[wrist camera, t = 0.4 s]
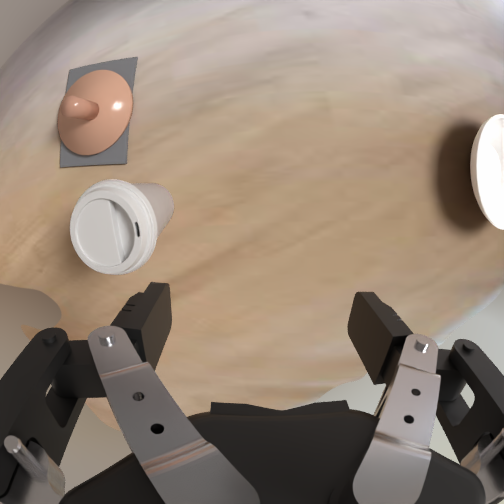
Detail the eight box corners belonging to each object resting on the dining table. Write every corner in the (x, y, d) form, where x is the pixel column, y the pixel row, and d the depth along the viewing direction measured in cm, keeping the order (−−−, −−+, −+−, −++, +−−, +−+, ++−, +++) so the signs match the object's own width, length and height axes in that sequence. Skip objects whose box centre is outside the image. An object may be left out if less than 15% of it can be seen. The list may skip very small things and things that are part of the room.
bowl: (486, 239, 40) (509, 250, 34) (433, 176, 37) (459, 181, 30) (518, 163, 35) (541, 167, 29) (471, 94, 32) (496, 90, 25)
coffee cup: (175, 247, 39) (141, 295, 25) (116, 229, 38) (60, 265, 24) (193, 181, 37) (161, 195, 22) (129, 165, 35) (70, 171, 21)
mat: (71, 70, 30) (69, 69, 29) (137, 57, 30) (136, 56, 30) (61, 167, 35) (60, 167, 34) (126, 163, 35) (125, 163, 35)
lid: (65, 78, 30) (41, 70, 23) (138, 65, 30) (119, 50, 24) (58, 158, 34) (31, 160, 27) (129, 152, 35) (107, 152, 28)
